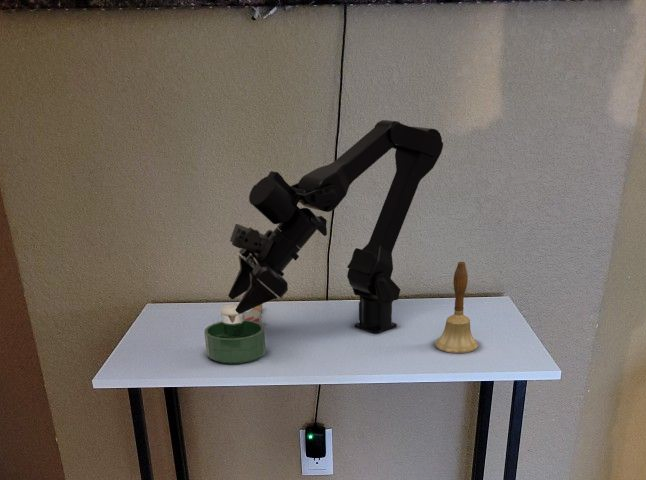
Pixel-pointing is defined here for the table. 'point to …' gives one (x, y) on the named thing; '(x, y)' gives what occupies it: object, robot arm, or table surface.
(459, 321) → the hand bell
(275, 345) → the table surface
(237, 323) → the milkshake
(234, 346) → the bowl
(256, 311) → the paintbrush
